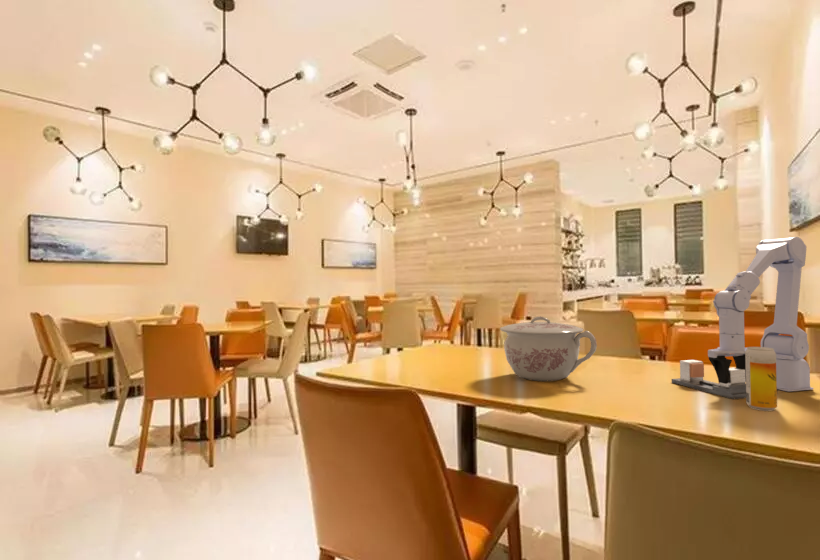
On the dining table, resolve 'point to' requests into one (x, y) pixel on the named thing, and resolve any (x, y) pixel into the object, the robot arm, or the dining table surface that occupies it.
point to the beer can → (761, 378)
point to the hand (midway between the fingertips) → (732, 382)
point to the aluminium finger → (734, 377)
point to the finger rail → (694, 379)
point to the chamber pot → (544, 349)
